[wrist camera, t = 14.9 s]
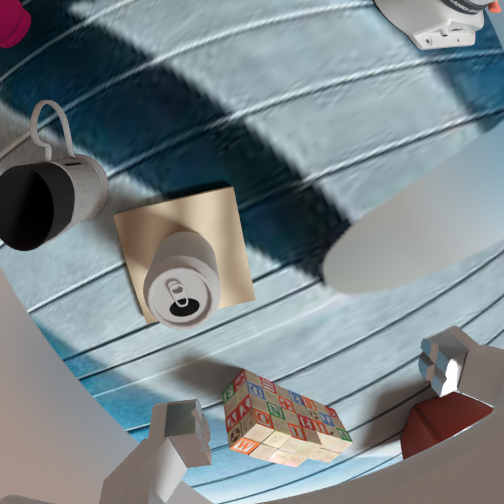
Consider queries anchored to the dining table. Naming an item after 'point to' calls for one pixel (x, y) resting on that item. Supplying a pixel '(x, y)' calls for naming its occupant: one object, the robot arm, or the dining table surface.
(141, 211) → the birch board
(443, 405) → the plant pot
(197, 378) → the dining table surface
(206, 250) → the can
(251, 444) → the stack of blocks
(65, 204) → the grey mug
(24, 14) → the pepper mill
